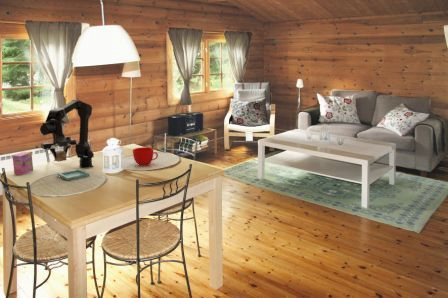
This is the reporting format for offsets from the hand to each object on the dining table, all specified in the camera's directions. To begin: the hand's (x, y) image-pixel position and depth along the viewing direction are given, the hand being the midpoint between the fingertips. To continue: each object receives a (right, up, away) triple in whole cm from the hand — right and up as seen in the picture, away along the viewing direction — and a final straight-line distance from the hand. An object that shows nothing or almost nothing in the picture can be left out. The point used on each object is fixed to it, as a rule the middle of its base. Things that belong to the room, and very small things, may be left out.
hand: (60, 158), depth 245 cm
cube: (0, -1, 0) cm, 1 cm away
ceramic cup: (+45, -5, +26) cm, 52 cm away
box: (-26, -9, +11) cm, 30 cm away
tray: (+7, -11, +2) cm, 13 cm away
